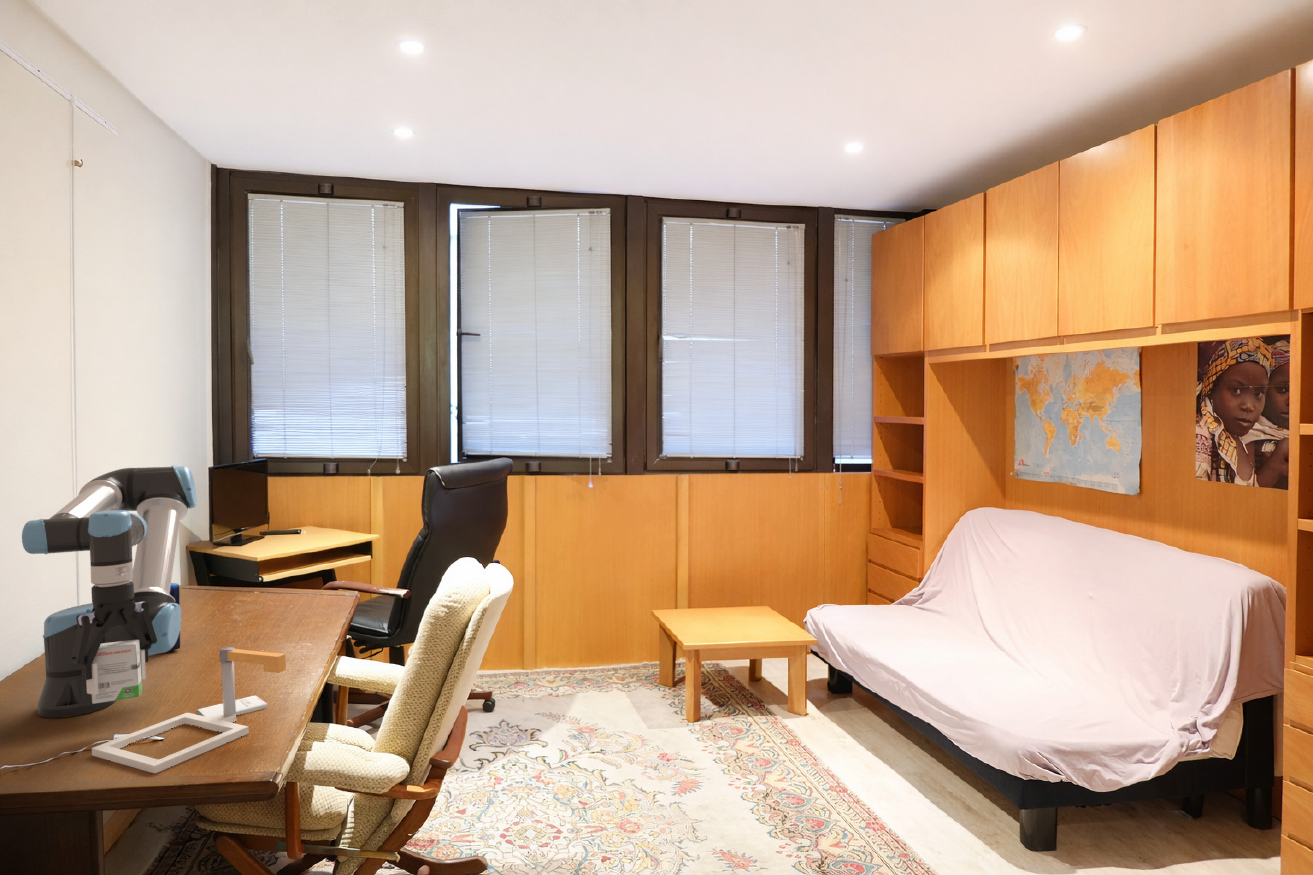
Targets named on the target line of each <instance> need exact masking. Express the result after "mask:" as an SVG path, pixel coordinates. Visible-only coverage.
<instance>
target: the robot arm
mask: <svg viewBox="0 0 1313 875" xmlns="http://www.w3.org/2000/svg"><path fill="white" fill-rule="evenodd" d="M194 480H195V479H194V475H193V472H192V470H191V469H190V468H189V467H188V466H177V465H171V466H158V467H157V466H156V467H155V466H154V467H152V466H151V467H125V468H119V469H116V470H112V471H109V472H106V473H103V474H101V475H99V476H96V477H95V478H93V479H91V480H90V481H89V482H87V483H85V484H84V485H83V486H82V487H81V488H80V490H79V492H78V495H77V496H76V497H74V498H73V499H72V500H71V501H70V502H68V503H67V504H66V505H65V506H63V507H62V508H61V509H60V510H57V512H56V513H54V514H53V515H52V516H51V517H50V518H46V519H45V518H44V519H43V518H40V519H34V520H29V521H27V522H25V524H24V526H23V527H22V533H21V542H22V544H21V545H22V547H23V550H24V551H25V552H26V553H28V554H31V555H36V554H37V555H39V554H41V555H42V554H44V555H48V554H60V553H72V552H74V553H75V552H86V551H87V552H89V558H90V559H89V560H90V565H89V566H90V583H91V584H92V585H93V586H92V587H91V603H85V604H81V605H76V606H72V607H69V608H65V609H62V610H58V611H56V612H54V613H51V614H50V615H49V616H47V617H46V618H45V619H44V623H43V634H42V639H43V645H44V646H43V648H44V649H43V650H44V663H45V664H44V665H45V666H44V667H45V680H44V684H43V687H42V690H41V693H40V696H39V699H38V702H37V714H38V716H39V717H42V718H48V719H57V718H58V719H60V718H67V717H68V718H69V717H74V716H79V715H84V714H85V715H86V714H88V713H93V712H95V711H99V710H101V709H104V708H106V707H109V706H111V705H113V704H114V703H116V701H117V700H114V701H108V702H101V703H95V704H93V703H92V695H96V694H98V673H97V663H93V660H94V658H95V656H96V654H97V652H98V649H99V647H100V645H101V644H102V643H111V642H119V641H128V640H137V639H138V640H139V644H140V660H141V675H142V681H143V680H146V679H147V671H146V664H147V663H148V662H149V659H150V658H149V656H153V655H156V654H162V653H167V651H169V650H170V649H171V648H172V647H173V646H174V645H175V643H176V641H177V639H178V636H179V632H180V633H181V626H182V617H183V616H182V614H183V613H182V608H181V606H179V605H178V604H176V603H175V599H174V598H173V597H172V596H171V595H170V594H169V593H170V586H171V583H172V578H173V570H174V565H175V564H174V563H175V559H176V558H175V557H176V550H177V544H178V536H179V535H178V534H179V528H180V522H181V520H184V518H186V516H187V515H188V511H189V509H190V510H191V509H194V508H196V507H197V493H196V492H197V491H196V485H195V481H194ZM135 511H136V512H137V513H130V512H135ZM136 545H137V546H136ZM134 546H136V551H135V554H134V555H135V556H134V563H133V547H134ZM169 652H170V651H169Z"/></svg>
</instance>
